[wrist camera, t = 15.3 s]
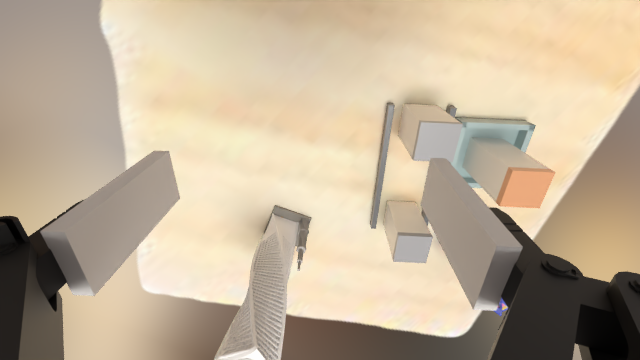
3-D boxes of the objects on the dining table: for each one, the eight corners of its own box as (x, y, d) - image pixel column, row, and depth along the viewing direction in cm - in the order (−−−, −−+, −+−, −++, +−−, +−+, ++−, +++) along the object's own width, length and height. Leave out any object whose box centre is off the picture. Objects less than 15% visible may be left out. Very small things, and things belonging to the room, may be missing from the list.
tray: (455, 117, 45) (461, 122, 43) (525, 120, 45) (535, 125, 43) (439, 179, 50) (444, 186, 48) (503, 182, 50) (511, 189, 48)
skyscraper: (295, 250, 58) (270, 418, 33) (256, 237, 57) (198, 401, 32) (311, 217, 54) (295, 378, 30) (269, 202, 53) (215, 357, 28)
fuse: (470, 137, 46) (513, 170, 35) (502, 138, 46) (555, 172, 35) (462, 166, 48) (499, 206, 38) (493, 167, 48) (539, 208, 37)
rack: (387, 102, 44) (401, 121, 36) (452, 105, 44) (482, 125, 36) (370, 223, 55) (377, 260, 46) (423, 226, 54) (441, 263, 46)
